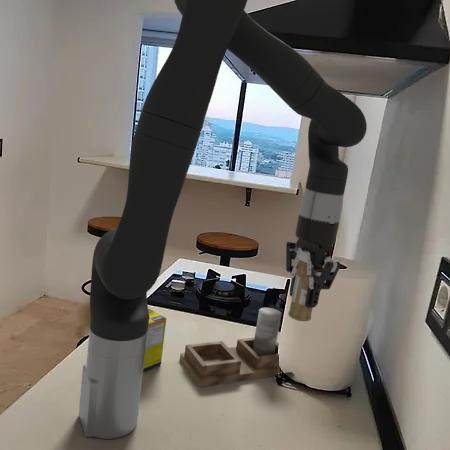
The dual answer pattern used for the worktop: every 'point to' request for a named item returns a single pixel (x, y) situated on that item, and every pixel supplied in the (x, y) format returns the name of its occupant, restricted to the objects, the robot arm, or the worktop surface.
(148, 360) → the supplement box
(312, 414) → the worktop surface
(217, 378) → the rack
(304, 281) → the sprinkles bottle
